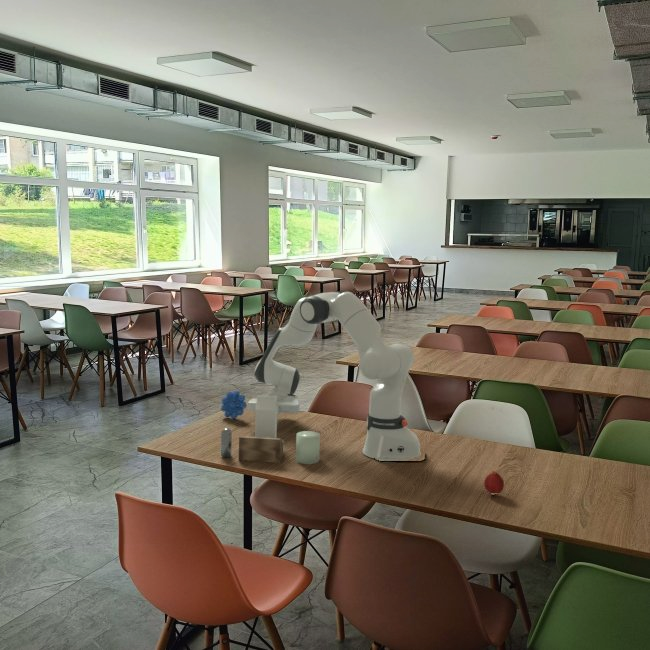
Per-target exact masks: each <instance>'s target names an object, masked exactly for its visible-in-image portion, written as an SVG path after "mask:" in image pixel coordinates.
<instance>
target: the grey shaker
mask: <svg viewBox="0 0 650 650" xmlns="http://www.w3.org/2000/svg"><path fill="white" fill-rule="evenodd" d="M232 436H233V434H232V430H231V429H230V428H228V427H227V428H226V427H225V428H223V429H222V430H221V433H220V457H221V456H222V457H221V458H223V457H225V459H227V457H228V459H229V458H231V457H232V448H233V447H232V440H233V439H232V438H233V437H232Z"/></svg>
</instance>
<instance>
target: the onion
mask: <svg viewBox="0 0 650 650" xmlns="http://www.w3.org/2000/svg"><path fill="white" fill-rule="evenodd" d="M483 484H484V485H483V486H484V488H485V490H486V491H487V492H488V493H489V492H490V493H499V494H500V493H501V492H502V491H503V490H504V487H505V482H504V478H503V477H502V476H501V475H500V474H499V473H498V471H497V470H492V472H491V473H489V474H487V476H486V477H485V478H484V482H483ZM490 493H489V494H490Z"/></svg>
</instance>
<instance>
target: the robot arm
mask: <svg viewBox="0 0 650 650" xmlns="http://www.w3.org/2000/svg"><path fill="white" fill-rule="evenodd" d="M337 320H338V322H339V323H340V324H341V326H342V327H343V329H344V331H346V333H347V335H348V336H349V337H350V339H351V340H352V342H353V343H354V345H355V347H356V349H357V351H358V355H359V361H358V367H359V371H360V373H361V375H362V376H363V377H365V379H368V380H375V383H374V386H373V387H372V389H371V390H370V393H369V406H368V407H369V409H368V414H367V417H366V429H367V432H366V437H365V441H364V446H363V449H362V451H361V452H362V453H363V455H365V456H366V457H369V458H371V459H374V458H375V459H374V460H377V461H378V460H379V461H378V462H380V461H394V460H409V459H414V457H419V456H420V455H421V452H420V447H421V443H420V439H419V438H418V437H419V436H417V434H415V433H414V432H413V431H412V430H410V429H409V428H408V427H407V426H408V424H409V423H408V420H407V419H406V418H405V416H404V415H402V414H401V409H402V408H401V406H402V396H403V390H404V386H405V383H406V380H407V376H408V374H409V373H410V370H411V368H412V367H413V365H414V362H415V355H414V352H413V350H412V349H411V347H409V346H408V345H405V344H402V343H401V344H400V343H393V344H386V343H385V342H384V340H383V338H382V335H381V332H382V327H381V325H380V323H379V322H378V320H377V319H376V318H375V316H374V315H373V314H372V312H371V311H370V309H368V307H367V306H366V305H365V304H364V302H363V301H362V300H361V299H359V297H358V296H357V295H355V294H354V293H353V292H351V291H341V290H340V291H339V290H338V291H336V290H335V291H331V292H330V291H328V292H321V293H317V294H313V295H309V296H307V297H306V296H305V297H301V298H299V300H298V301H297V302H296V304H295V305H294V307H293V309H292V312H291V313H290V316H289V321H288V323H287V324H286V325H285V326H284V327H283V326H282V327H279V328H278V329H277V330H276V332H275V333H274V335H273V336H272V339H271V340H270V342H269V343H268V346H267V347H266V349H265V351H264V353H263V355H262V357H261V358H260V359H259V361H258V362H257V364H256V365H255V368H254V378H255V379H256V380H257V381H258V382H260V383H263V384H267V385H270V386H273V387H272V388H271V389H270V390H269V392H268V394H267V395H266V396H277V415H279V414H293V415H298V414H300V409H301V408H300V406H301V405H300V399H299V397H298V395H296V394H295V393H296V390H297V388H298V386H299V382H300V378H301V376H300V372H299V370H298V369H297V368H296V367H293V366H290V365H286V364H284V363H281V362H278V361H276V360H274V359H273V358H274V357H275V355H276V352H277V351H278V349H280V348H281V347H285V346H302V345H305V344H307V343H309V342H310V341H312V339H313V337H314V336H315V333H316V330H317V327H318V325H319V324H324V323H330V322H334V321H337ZM256 402H257V397H256V398H255V397H254V398H252V399H249V401H247V411H248V412H255V409H256ZM408 458H409V459H408Z"/></svg>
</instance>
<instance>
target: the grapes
mask: <svg viewBox="0 0 650 650" xmlns="http://www.w3.org/2000/svg"><path fill="white" fill-rule="evenodd" d="M245 400H246V396H245V395H244V394H240V391H239V390H235V391H233V392H232V391H228V392H227V393H226V395H225V396H223V398H222V399H221V403H222V405H221V406H220V410H221V411H222V412H224V417H225V418H229V417H230V419H232V420H236V419H237V418H238V416H239V417H240V416H242V415H244V412H245V411H244V410H245V409H246V408H247V407H248V403H247V402H246V401H245Z"/></svg>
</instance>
